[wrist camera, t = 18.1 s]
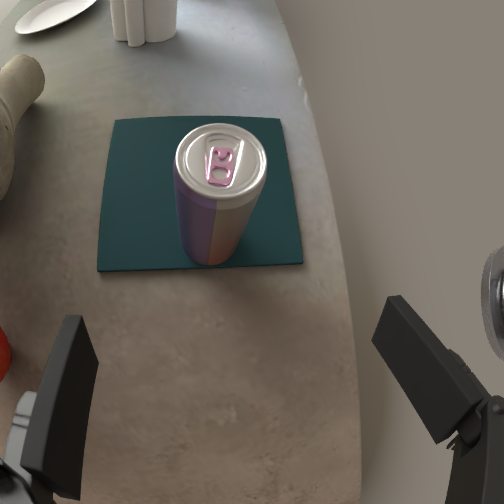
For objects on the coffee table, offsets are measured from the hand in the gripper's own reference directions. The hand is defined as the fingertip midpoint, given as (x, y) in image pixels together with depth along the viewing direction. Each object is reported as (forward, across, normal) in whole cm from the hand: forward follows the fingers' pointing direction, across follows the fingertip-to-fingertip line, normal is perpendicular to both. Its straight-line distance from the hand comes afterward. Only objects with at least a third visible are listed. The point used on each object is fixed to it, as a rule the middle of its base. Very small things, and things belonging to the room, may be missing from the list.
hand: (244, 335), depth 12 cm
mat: (+25, -1, -1) cm, 26 cm away
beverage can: (+20, 0, -6) cm, 21 cm away
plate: (+60, -35, +34) cm, 77 cm away
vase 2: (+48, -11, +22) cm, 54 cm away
